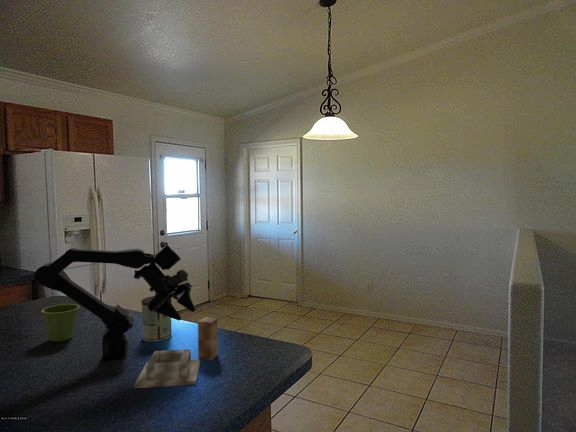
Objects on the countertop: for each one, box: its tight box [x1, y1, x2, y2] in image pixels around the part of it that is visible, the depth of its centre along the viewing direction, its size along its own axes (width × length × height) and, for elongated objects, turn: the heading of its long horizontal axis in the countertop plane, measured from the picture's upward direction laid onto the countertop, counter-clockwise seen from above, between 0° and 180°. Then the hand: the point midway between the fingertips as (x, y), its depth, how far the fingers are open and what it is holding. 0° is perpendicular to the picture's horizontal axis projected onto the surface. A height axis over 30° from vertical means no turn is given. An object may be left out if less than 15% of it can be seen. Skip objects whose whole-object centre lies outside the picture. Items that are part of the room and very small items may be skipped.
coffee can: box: [140, 295, 172, 343], centre depth 138 cm, size 10×10×14 cm
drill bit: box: [128, 312, 135, 325], centre depth 150 cm, size 5×5×10 cm
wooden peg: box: [197, 316, 219, 361], centre depth 120 cm, size 4×4×12 cm
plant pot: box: [41, 303, 81, 343], centre depth 136 cm, size 12×12×11 cm
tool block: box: [133, 348, 202, 389], centre depth 108 cm, size 16×14×5 cm
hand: (187, 315), depth 122 cm, fingers open, 9 cm apart
